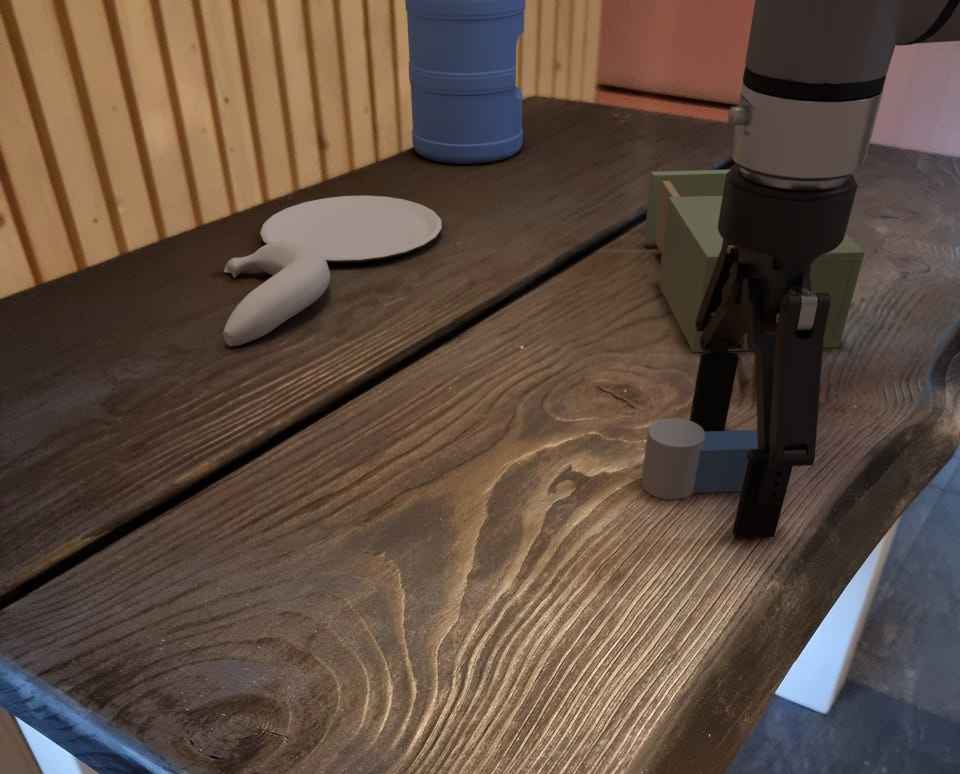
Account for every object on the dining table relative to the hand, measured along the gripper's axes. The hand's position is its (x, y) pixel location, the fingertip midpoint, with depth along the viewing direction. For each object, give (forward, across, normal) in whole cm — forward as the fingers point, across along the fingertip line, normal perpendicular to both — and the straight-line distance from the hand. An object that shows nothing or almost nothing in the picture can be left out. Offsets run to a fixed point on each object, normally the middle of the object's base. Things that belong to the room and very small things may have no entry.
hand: (727, 480), depth 68 cm
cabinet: (0, -29, +9) cm, 30 cm away
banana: (+1, -35, -39) cm, 52 cm away
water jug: (0, -87, -15) cm, 88 cm away
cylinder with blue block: (0, 0, -2) cm, 2 cm away
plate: (0, -54, -30) cm, 62 cm away
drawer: (-1, -43, +9) cm, 44 cm away
